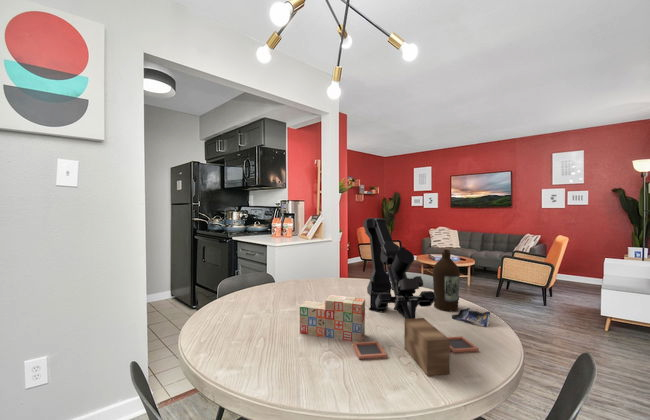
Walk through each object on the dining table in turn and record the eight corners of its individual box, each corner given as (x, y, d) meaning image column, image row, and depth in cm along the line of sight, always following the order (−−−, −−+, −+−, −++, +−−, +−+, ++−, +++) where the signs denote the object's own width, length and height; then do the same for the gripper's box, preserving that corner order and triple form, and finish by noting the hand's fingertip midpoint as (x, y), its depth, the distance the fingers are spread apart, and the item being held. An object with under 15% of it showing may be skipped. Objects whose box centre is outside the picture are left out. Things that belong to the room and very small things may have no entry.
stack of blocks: (299, 333, 95) (299, 297, 95) (305, 326, 101) (306, 292, 101) (361, 343, 88) (361, 304, 88) (365, 334, 94) (365, 298, 94)
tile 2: (438, 340, 89) (438, 337, 89) (461, 339, 90) (461, 336, 90) (453, 353, 81) (453, 350, 81) (478, 351, 82) (478, 348, 82)
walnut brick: (404, 348, 84) (404, 318, 84) (423, 347, 85) (423, 317, 85) (427, 376, 70) (427, 340, 70) (449, 374, 71) (449, 339, 71)
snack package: (463, 329, 99) (495, 327, 100) (461, 310, 100) (493, 309, 101) (448, 321, 111) (477, 320, 112) (446, 304, 112) (475, 303, 113)
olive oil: (427, 304, 124) (427, 247, 124) (448, 302, 126) (448, 247, 126) (442, 313, 113) (443, 251, 113) (465, 311, 116) (465, 250, 116)
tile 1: (352, 346, 86) (352, 342, 86) (377, 344, 87) (377, 341, 87) (359, 359, 78) (359, 356, 78) (386, 358, 79) (386, 354, 79)
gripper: (378, 267, 89) (390, 315, 78) (433, 266, 91) (453, 312, 80) (370, 285, 97) (381, 331, 86) (422, 284, 99) (438, 328, 88)
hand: (413, 325), depth 85 cm, fingers closed, pressing on walnut brick
